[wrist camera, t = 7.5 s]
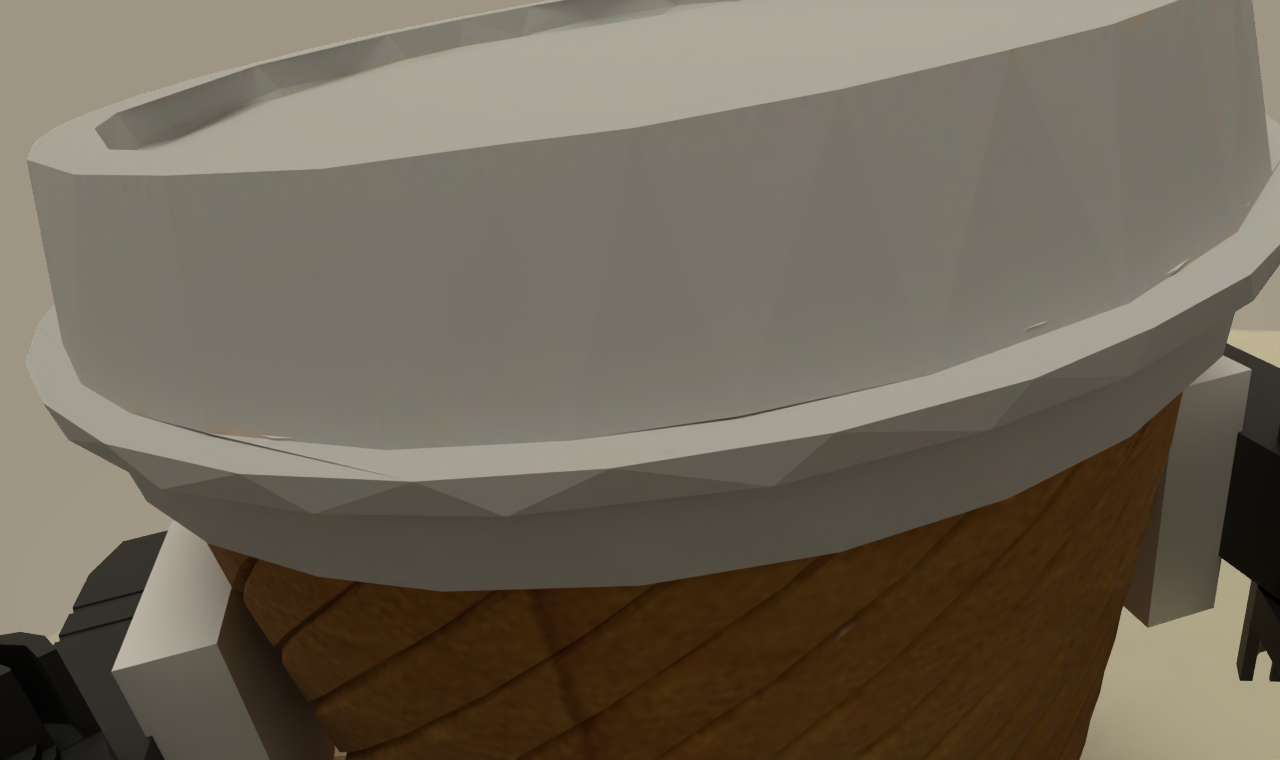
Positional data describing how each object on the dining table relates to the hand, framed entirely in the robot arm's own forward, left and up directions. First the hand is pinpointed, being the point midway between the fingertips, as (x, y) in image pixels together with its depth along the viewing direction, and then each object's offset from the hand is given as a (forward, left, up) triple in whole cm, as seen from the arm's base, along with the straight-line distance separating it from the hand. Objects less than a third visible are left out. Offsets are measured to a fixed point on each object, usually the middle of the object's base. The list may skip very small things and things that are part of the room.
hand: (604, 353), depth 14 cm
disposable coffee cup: (+2, -4, -7) cm, 9 cm away
